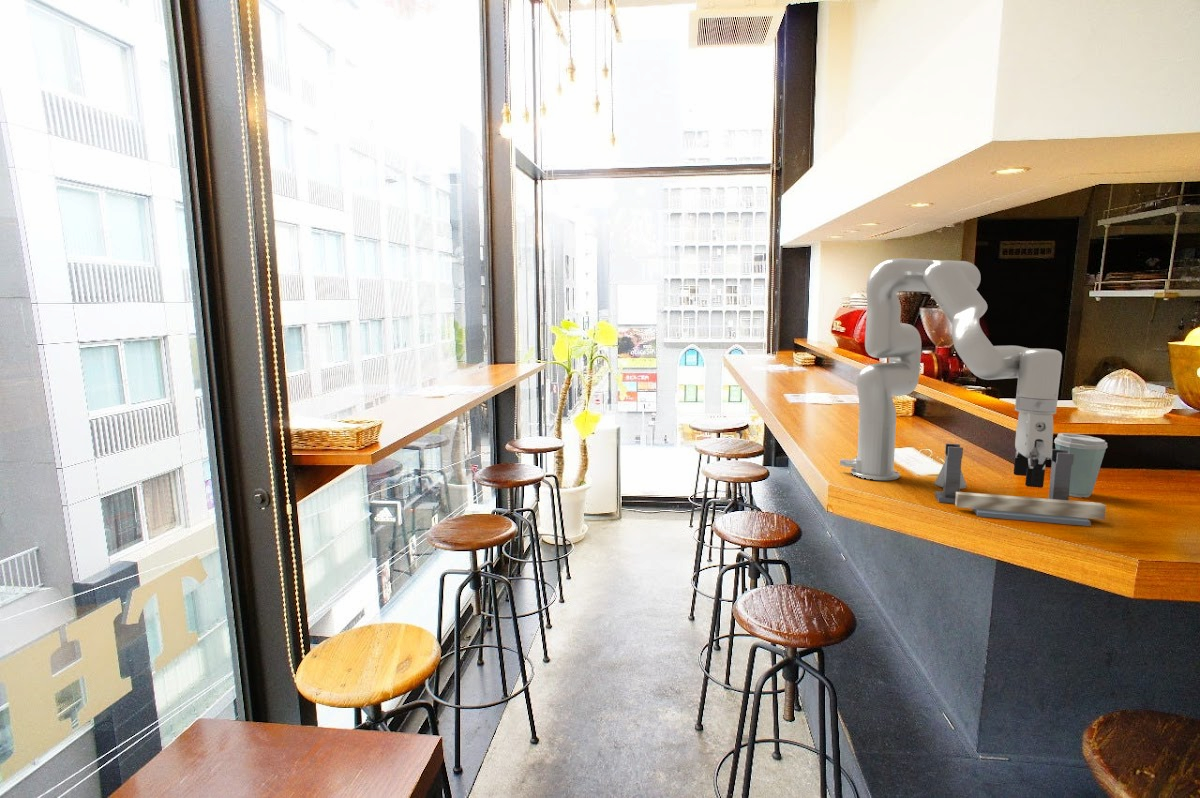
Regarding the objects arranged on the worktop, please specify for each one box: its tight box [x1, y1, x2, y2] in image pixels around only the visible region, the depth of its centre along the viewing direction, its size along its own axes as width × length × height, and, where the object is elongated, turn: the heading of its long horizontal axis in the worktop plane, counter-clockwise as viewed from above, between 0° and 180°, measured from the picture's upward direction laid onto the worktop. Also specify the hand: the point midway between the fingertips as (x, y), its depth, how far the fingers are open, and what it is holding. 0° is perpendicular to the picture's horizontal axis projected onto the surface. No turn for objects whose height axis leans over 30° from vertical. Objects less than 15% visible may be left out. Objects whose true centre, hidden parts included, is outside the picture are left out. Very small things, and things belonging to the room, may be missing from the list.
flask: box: [933, 461, 968, 490], centre depth 167 cm, size 7×7×10 cm
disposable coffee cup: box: [1053, 432, 1108, 498], centre depth 158 cm, size 11×11×15 cm
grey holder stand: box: [934, 443, 1074, 504], centre depth 150 cm, size 28×6×14 cm, turn 70°
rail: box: [955, 491, 1107, 521], centre depth 142 cm, size 28×2×3 cm, turn 69°
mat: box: [971, 508, 1092, 527], centre depth 142 cm, size 21×8×1 cm, turn 70°
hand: (1027, 480), depth 142 cm, fingers open, 9 cm apart
